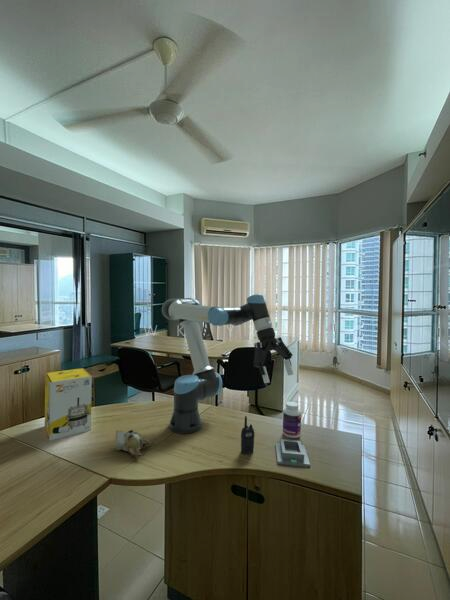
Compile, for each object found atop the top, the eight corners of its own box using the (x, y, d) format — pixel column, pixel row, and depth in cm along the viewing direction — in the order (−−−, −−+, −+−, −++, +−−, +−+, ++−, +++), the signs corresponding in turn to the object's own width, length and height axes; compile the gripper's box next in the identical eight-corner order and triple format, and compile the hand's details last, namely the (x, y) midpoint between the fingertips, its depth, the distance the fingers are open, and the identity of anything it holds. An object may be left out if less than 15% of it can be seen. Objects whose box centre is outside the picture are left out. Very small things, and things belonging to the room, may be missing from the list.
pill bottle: (300, 440, 127) (302, 408, 126) (282, 438, 128) (283, 406, 128) (299, 431, 135) (300, 401, 134) (282, 429, 136) (283, 399, 136)
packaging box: (49, 440, 120) (50, 382, 120) (44, 426, 133) (45, 373, 132) (90, 430, 131) (91, 376, 130) (82, 417, 143) (83, 368, 143)
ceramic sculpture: (124, 421, 121) (156, 428, 117) (123, 440, 122) (154, 449, 118) (108, 433, 111) (141, 441, 107) (106, 454, 112) (140, 464, 108)
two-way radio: (241, 454, 114) (242, 417, 114) (238, 448, 118) (240, 413, 118) (254, 453, 115) (256, 417, 115) (251, 447, 120) (252, 412, 119)
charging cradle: (277, 464, 109) (278, 455, 108) (275, 444, 122) (275, 436, 122) (310, 467, 107) (310, 457, 107) (303, 447, 121) (304, 439, 121)
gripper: (246, 331, 112) (262, 385, 107) (290, 323, 126) (306, 370, 121) (236, 335, 118) (250, 387, 113) (279, 327, 132) (293, 372, 127)
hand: (279, 378), depth 117 cm, fingers open, 13 cm apart
